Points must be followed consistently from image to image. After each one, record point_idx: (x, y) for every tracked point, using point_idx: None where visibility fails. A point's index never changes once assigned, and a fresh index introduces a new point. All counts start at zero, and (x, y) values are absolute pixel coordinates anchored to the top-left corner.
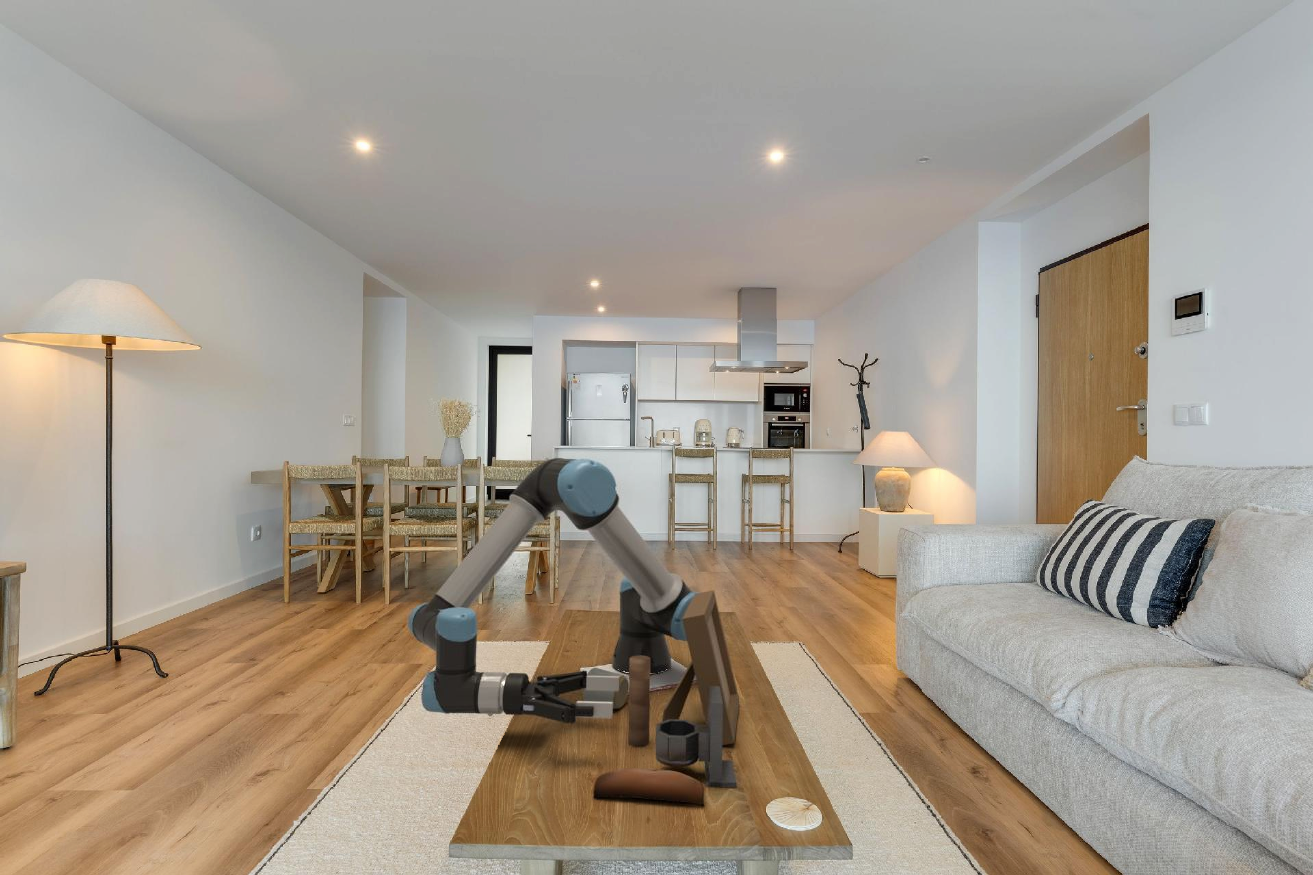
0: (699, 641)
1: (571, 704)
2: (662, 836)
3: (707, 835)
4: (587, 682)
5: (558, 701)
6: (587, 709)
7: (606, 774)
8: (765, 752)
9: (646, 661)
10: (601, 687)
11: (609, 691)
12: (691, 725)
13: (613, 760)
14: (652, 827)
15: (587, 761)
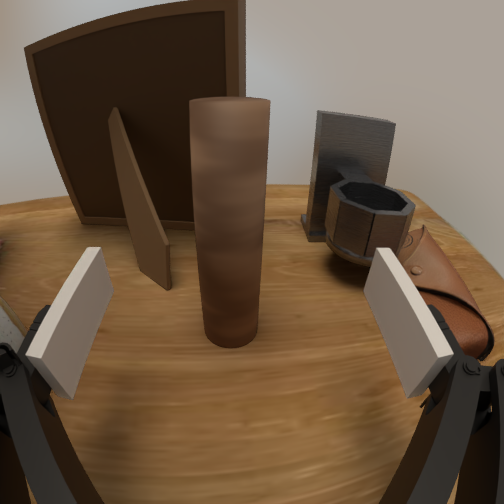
0: (242, 48)
1: (476, 368)
2: (489, 275)
3: (461, 246)
4: (56, 373)
5: (462, 452)
6: (442, 322)
7: (484, 319)
8: None
9: (259, 98)
10: (88, 332)
11: (14, 346)
12: (347, 185)
13: (342, 367)
14: (485, 284)
15: (366, 422)
